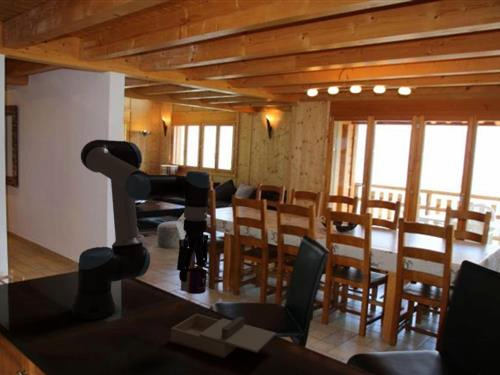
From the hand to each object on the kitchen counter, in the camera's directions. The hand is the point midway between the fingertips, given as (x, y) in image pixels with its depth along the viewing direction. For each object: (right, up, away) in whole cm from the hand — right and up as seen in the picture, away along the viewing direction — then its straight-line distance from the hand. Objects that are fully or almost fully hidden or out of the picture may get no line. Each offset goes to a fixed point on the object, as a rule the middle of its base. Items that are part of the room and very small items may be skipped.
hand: (191, 288), depth 143 cm
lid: (+16, -14, -3) cm, 21 cm away
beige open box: (+6, -18, +2) cm, 19 cm away
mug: (0, -1, 0) cm, 1 cm away
